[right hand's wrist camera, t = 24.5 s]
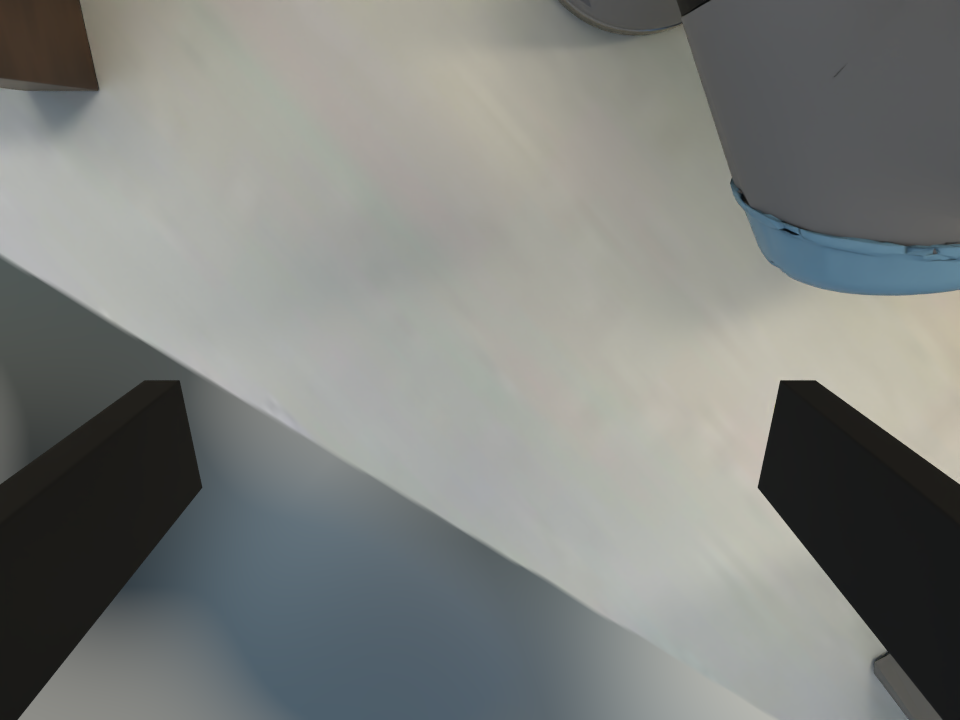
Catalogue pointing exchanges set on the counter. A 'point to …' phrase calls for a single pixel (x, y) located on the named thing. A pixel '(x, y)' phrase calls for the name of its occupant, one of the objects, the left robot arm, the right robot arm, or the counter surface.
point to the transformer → (903, 690)
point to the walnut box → (44, 46)
